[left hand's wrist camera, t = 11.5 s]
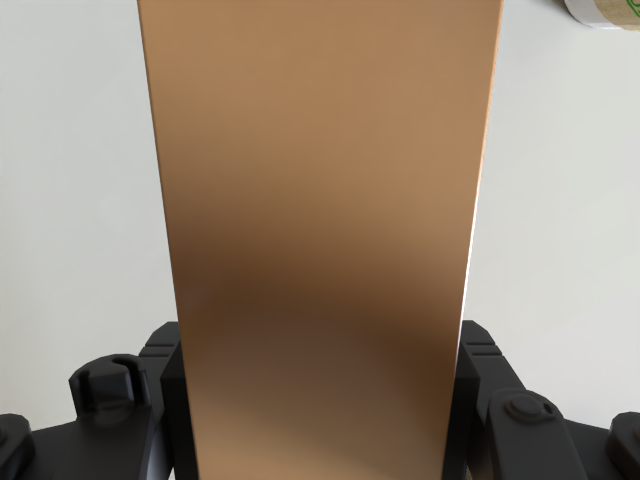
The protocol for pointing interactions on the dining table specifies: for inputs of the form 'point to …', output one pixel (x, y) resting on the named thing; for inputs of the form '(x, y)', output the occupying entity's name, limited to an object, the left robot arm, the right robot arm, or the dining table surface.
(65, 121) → the dining table surface
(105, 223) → the dining table surface
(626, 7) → the coffee cup
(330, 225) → the bar
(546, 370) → the dining table surface
